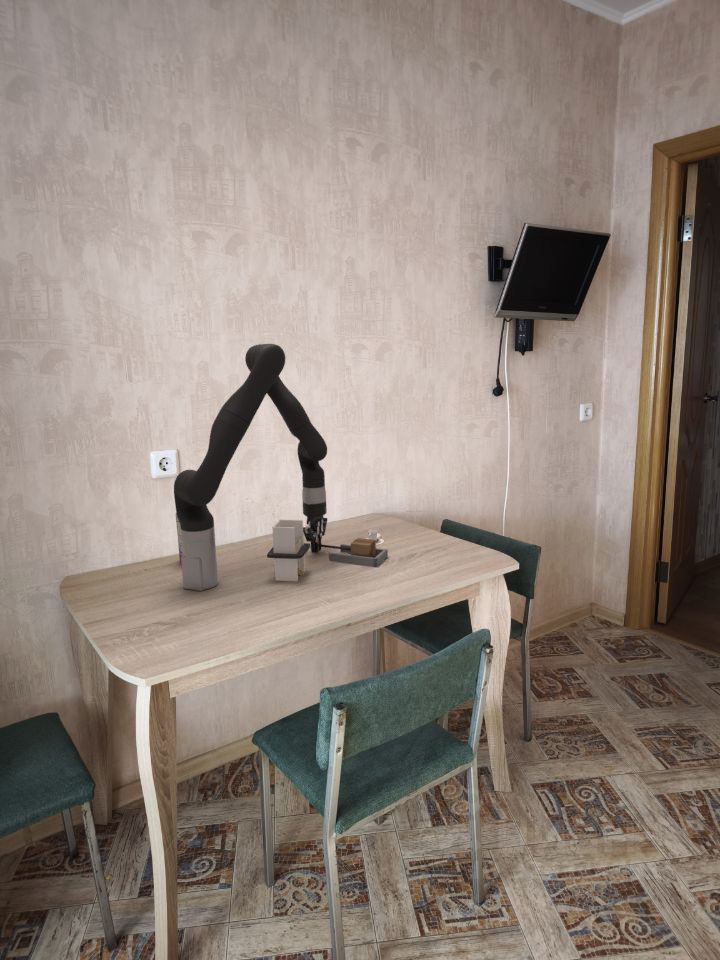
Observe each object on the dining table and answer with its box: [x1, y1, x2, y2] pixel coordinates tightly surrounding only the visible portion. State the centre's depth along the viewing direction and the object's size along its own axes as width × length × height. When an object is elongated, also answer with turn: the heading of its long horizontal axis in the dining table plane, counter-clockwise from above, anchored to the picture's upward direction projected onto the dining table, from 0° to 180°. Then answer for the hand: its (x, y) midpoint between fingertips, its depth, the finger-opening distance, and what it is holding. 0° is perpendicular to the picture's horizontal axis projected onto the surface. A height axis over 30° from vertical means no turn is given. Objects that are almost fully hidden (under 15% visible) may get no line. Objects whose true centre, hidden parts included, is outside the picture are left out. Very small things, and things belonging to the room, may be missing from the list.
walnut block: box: [317, 537, 377, 558], centre depth 210 cm, size 6×20×6 cm, turn 67°
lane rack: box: [328, 543, 389, 568], centre depth 208 cm, size 10×16×2 cm, turn 67°
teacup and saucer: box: [364, 529, 385, 546], centre depth 225 cm, size 9×8×4 cm
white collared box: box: [266, 519, 311, 582], centre depth 193 cm, size 25×24×16 cm
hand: (316, 551), depth 214 cm, fingers closed on walnut block, 2 cm apart
